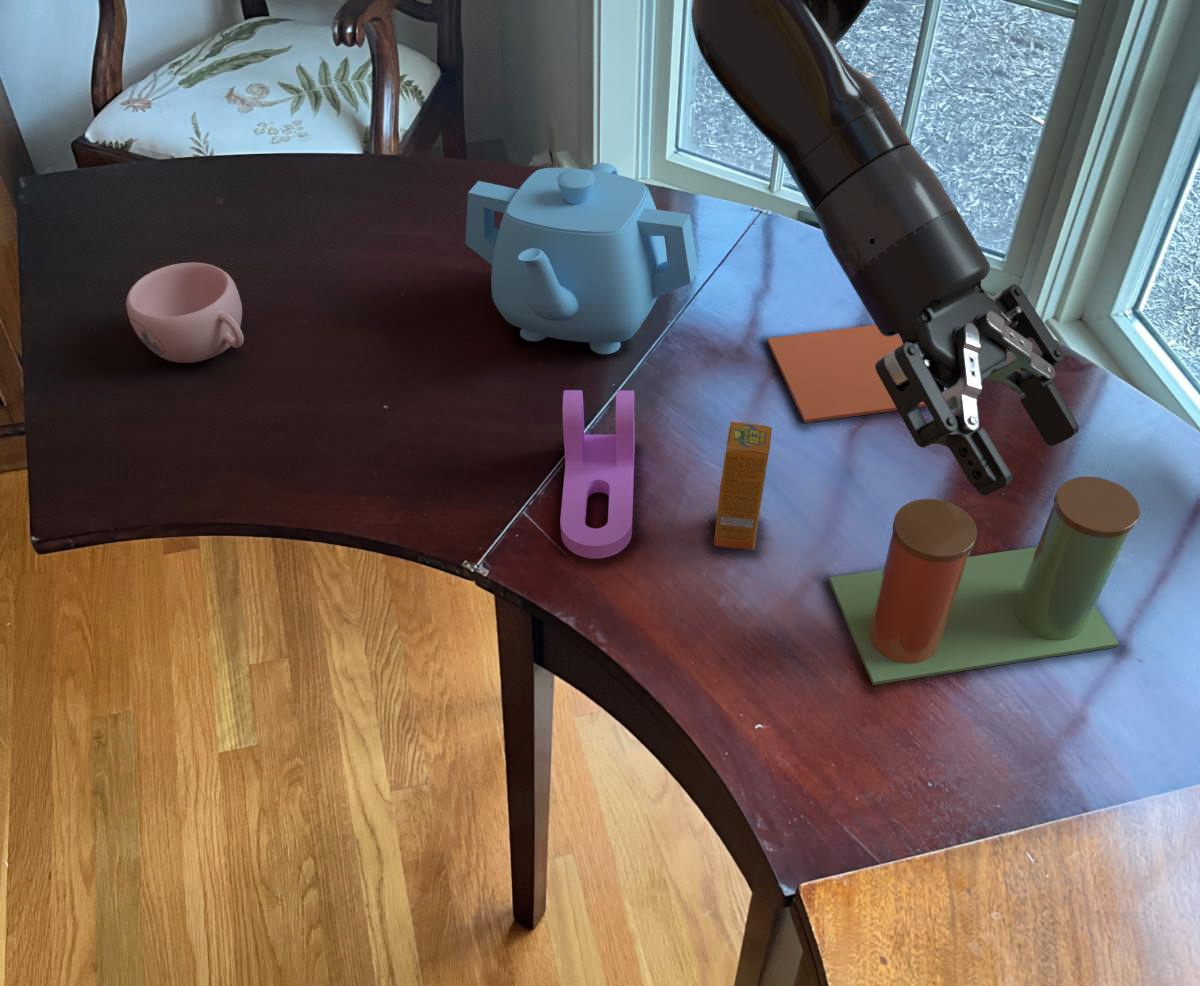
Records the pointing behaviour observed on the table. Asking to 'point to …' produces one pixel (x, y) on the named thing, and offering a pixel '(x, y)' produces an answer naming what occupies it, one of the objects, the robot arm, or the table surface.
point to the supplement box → (742, 485)
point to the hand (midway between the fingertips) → (1032, 463)
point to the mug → (186, 312)
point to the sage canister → (1075, 556)
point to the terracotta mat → (835, 371)
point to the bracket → (597, 477)
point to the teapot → (579, 253)
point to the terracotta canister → (920, 579)
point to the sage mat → (966, 622)
